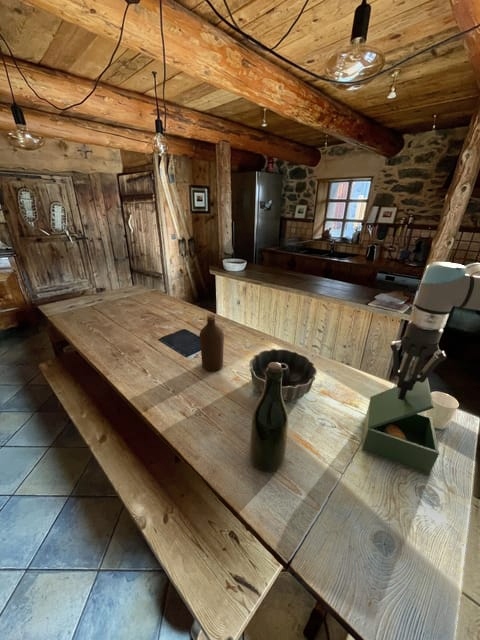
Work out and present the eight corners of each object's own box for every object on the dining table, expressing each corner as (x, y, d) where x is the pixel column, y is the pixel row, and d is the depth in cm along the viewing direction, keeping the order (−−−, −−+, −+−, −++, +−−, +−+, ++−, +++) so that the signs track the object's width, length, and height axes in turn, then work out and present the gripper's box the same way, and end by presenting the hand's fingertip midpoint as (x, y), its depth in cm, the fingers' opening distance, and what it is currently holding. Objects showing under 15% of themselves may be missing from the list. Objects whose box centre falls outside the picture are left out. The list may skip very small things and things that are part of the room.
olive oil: (209, 375, 114) (207, 323, 103) (196, 364, 122) (193, 314, 111) (229, 366, 120) (228, 316, 110) (215, 356, 128) (214, 308, 117)
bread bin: (423, 437, 87) (432, 417, 83) (428, 475, 75) (439, 453, 71) (365, 418, 94) (370, 398, 90) (361, 450, 82) (368, 429, 78)
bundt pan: (283, 360, 125) (285, 342, 121) (327, 392, 105) (331, 372, 101) (236, 379, 112) (236, 359, 108) (276, 419, 92) (278, 397, 88)
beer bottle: (260, 436, 86) (266, 349, 72) (290, 452, 81) (303, 361, 67) (242, 461, 78) (245, 368, 64) (274, 480, 73) (285, 384, 59)
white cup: (426, 428, 90) (435, 405, 86) (417, 411, 97) (426, 389, 93) (452, 432, 88) (463, 410, 84) (442, 415, 95) (452, 393, 91)
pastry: (380, 425, 90) (383, 417, 88) (402, 431, 88) (406, 423, 86) (383, 448, 82) (386, 439, 80) (408, 455, 80) (412, 446, 78)
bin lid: (427, 376, 79) (425, 374, 79) (434, 408, 67) (432, 405, 67) (371, 398, 90) (370, 396, 90) (369, 429, 78) (367, 427, 78)
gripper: (397, 324, 67) (375, 397, 77) (460, 336, 62) (428, 413, 72) (396, 314, 73) (376, 382, 83) (454, 324, 68) (425, 396, 78)
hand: (400, 396), depth 77 cm, fingers closed
